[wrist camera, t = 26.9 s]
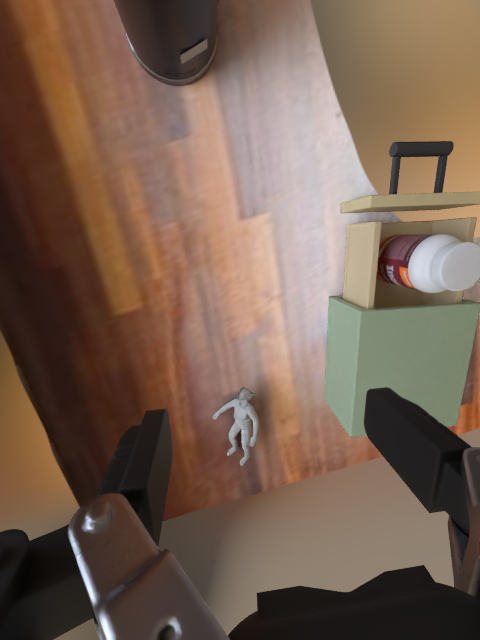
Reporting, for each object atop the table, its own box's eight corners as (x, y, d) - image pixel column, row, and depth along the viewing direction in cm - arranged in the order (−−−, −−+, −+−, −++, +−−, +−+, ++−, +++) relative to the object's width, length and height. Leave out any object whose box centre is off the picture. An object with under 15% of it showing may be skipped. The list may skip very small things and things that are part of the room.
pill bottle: (359, 268, 37) (419, 279, 26) (387, 225, 36) (462, 219, 25) (393, 290, 38) (464, 310, 28) (421, 250, 37) (506, 254, 27)
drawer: (343, 154, 34) (376, 134, 27) (446, 152, 35) (502, 132, 29) (334, 321, 40) (359, 337, 33) (423, 314, 41) (464, 328, 35)
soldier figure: (213, 444, 46) (205, 394, 39) (232, 423, 49) (228, 374, 42) (251, 474, 41) (250, 424, 35) (269, 449, 45) (272, 399, 38)
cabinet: (328, 296, 40) (361, 311, 31) (425, 290, 41) (481, 303, 33) (323, 400, 44) (351, 437, 36) (410, 391, 46) (456, 425, 37)
